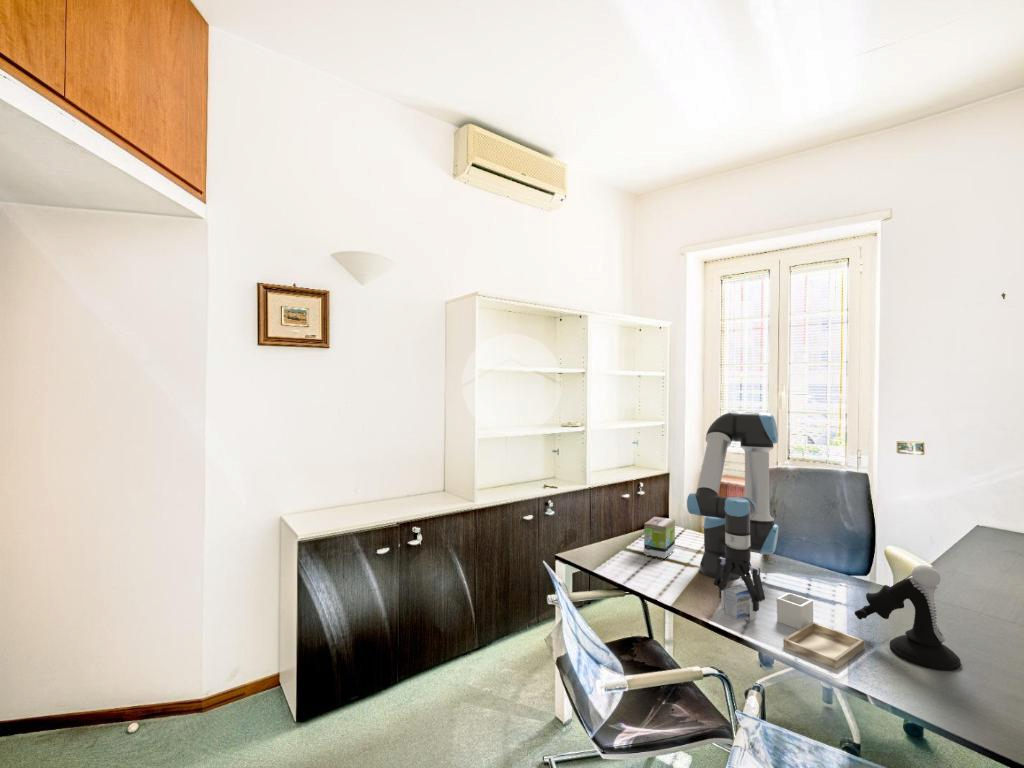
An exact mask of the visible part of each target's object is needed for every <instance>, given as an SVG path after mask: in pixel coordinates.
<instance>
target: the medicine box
mask: <svg viewBox="0 0 1024 768" xmlns="http://www.w3.org/2000/svg"><path fill="white" fill-rule="evenodd" d="M750 600H752V599H751V596H750V594H749V592H748V589H747V587H746V585H743V584H742V585H741V584H740V585H737V586H732V587H729V588H725V611H724V613H725V614H727V615H729V616H731V617H733V618H735V619H738V618H742V617H745V616H747V615H750Z"/></svg>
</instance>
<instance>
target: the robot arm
mask: <svg viewBox="0 0 1024 768" xmlns="http://www.w3.org/2000/svg"><path fill="white" fill-rule="evenodd" d="M775 419H776V418H775V416H774V415H772V414H771V413H769V412H767V413H766V412H735V411H734V412H733V411H732V412H727V413H724V414H722V415H720V416H719V417H718V418H716V419H715V420H714V421H713V422H712V423H711V425H710V426H709V428H708V430H707V432H706V435H705V441H706V447H705V450H704V451H705V452H704V456H703V460H702V465H701V470H700V473H699V478H698V481H697V482H698V483H697V487H696V492H695V493H689V494H688V496H687V498H686V508H687V511H688V513H689V514H691V515H693V516H694V515H695V516H700V517H704V520H703V521H704V522H703V538H704V539H703V541H704V542H703V544H704V545H703V546H704V548H703V549H704V551H703V554H702V558H701V560H700V563H699V571H700V573H702V574H703V575H705V576H708V577H709V578H710V577H711V578H714V579H713V586H714V587H717V588H718V591H719V592H718V595H719V596H718V597H719V599H720V600H721V601H720V602H721V609H723V610H724V609H725V589H727V586H728V584H729V581H730V580H734V579H739V578H741V580H742V581H743V583H744V584H745V585H744V586H745V587H747V589H748V592H749V594H750V596H751V599H752V600H750V614H749V620H750V621H754V620H756V619H757V618H758V617H757V612H759V610H760V602H762V601H765V599H766V596H765V593H764V587H763V583H762V579H761V568H760V567H754V566H752V564H751V557H752V556H751V553H755V554H760V555H761V554H762V555H772V554H774V553H775V551H776V547H777V543H778V538H779V537H778V536H779V524H776V523H775V519H774V517H772V516H771V513H770V452H771V450H773V449H774V445H775V444H778V442H779V438H778V436H779V435H778V433H779V432H778V427H777V423H776V420H775ZM732 442H740V448H742V450H743V451H744V496H738V497H736V496H732V497H725V496H719V492H720V487H721V484H722V483H721V482H722V478H723V473H724V467H725V464H726V463H725V462H726V459H727V458H726V457H727V452H728V448H729V447H730V446H732Z"/></svg>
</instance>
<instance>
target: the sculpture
mask: <svg viewBox="0 0 1024 768" xmlns="http://www.w3.org/2000/svg"><path fill="white" fill-rule="evenodd" d="M940 582H941V575H940V573H939V572H938V570H936V569H935V568H934V567H932V566H929V565H926V564H925V565H924V564H920V565H916V566H914V567H913V569H912V570H911V577H908V578H904V579H902V580H900V581H897V582H896V583H894V584H893V585H891V586H890V585H887V584H885V585H882V587H881V589H880V590H879V591H878V592H874V593H873V592H872V593H871V592H868V593H866V594H865V598H866V601H867V602H868V605H864V606H863V607H862V608H860V609H858V610H855V611H854V616H856V618H858V620H862V619H867V617H868V616H870V615H873V614H875V613H876V614H877V615H878V616H880V617H881V618H883V619H885V620H889V618H890V615H891V614H892V612H893V611H896V610H898V609H904V607H905V601H906V600H909V601H910V602H911V603H912V605H913V607H914V619H913V625H912V628H911V629H908V630H905V634H904V635H903V634H902V635H899V636H896V637H894V638H892V639H891V640H890V641H889V649H890V651H891V652H892V654H894V655H895V656H897V657H898V658H899V659H902V660H903V661H906V662H908V663H910V664H913V665H914V666H919V667H922V668H924V669H925V668H926V669H930V670H933V671H940V672H941V671H942V672H947V671H948V672H950V671H951V672H952V671H953V672H954V671H956V670H959V669H960V668H961V665H962V664H961V658H960V657H959V656H958V655H957V654H956V653H955V652H954V651H953V650H952V649H950V648H949V647H948V646H946V645H945V644H943V643H945V642H946V637H945V636H944V634H943V633H942V632H941V630H940V629H939V626H938V624H937V610H936V608H937V607H936V606H935V605H936V603H935V592H936V590H937V589H938V588H939V587H938V585H939V584H940Z"/></svg>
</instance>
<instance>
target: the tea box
mask: <svg viewBox="0 0 1024 768" xmlns="http://www.w3.org/2000/svg"><path fill="white" fill-rule="evenodd" d="M643 527H644V530H643V532H644V533H643V534H644V535H643V536H644V538H643V539H644V540H643V547H644V548H643V555H644V554H646V555H652V556H658V557H662V558H666V557H667V556H668V557H670V556H671V554H670V553H672V552H673V550H674V549H675V550H676V519H673V518H667V517H661V516H660V517H659V516H653V517H651V518H650V519H649V520H648V521H646V522H644V526H643ZM673 553H674V552H673ZM673 553H672V554H673ZM669 555H670V556H669ZM668 557H667V558H668ZM667 558H666V559H667Z"/></svg>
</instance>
